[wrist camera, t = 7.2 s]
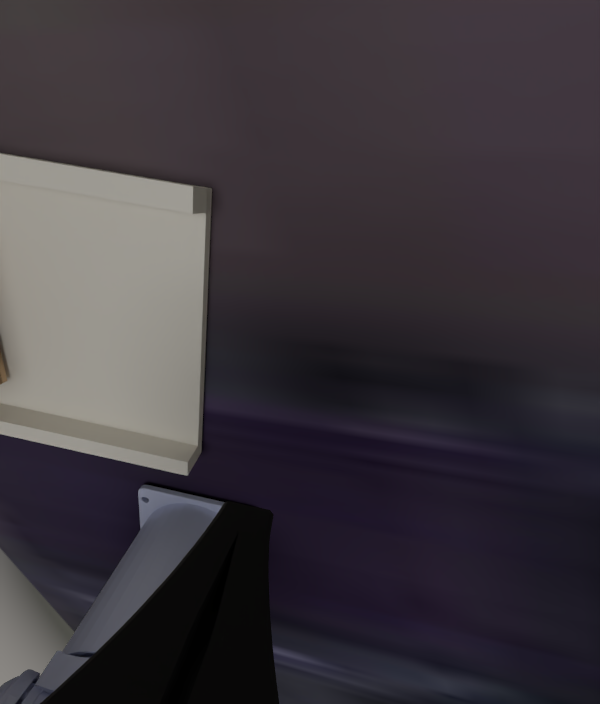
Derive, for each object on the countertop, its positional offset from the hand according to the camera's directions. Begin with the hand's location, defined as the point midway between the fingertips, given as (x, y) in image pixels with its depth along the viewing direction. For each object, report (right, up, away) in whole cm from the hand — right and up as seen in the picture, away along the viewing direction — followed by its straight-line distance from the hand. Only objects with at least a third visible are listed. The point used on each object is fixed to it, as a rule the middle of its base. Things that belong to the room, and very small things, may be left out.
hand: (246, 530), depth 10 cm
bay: (-13, +7, +9) cm, 18 cm away
